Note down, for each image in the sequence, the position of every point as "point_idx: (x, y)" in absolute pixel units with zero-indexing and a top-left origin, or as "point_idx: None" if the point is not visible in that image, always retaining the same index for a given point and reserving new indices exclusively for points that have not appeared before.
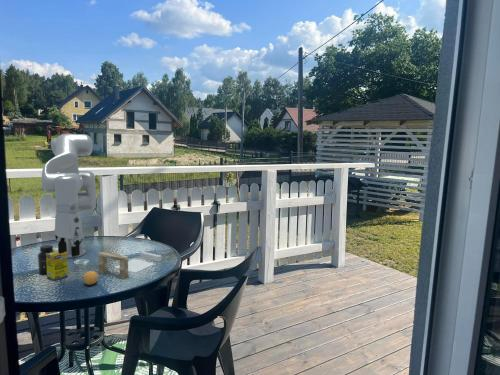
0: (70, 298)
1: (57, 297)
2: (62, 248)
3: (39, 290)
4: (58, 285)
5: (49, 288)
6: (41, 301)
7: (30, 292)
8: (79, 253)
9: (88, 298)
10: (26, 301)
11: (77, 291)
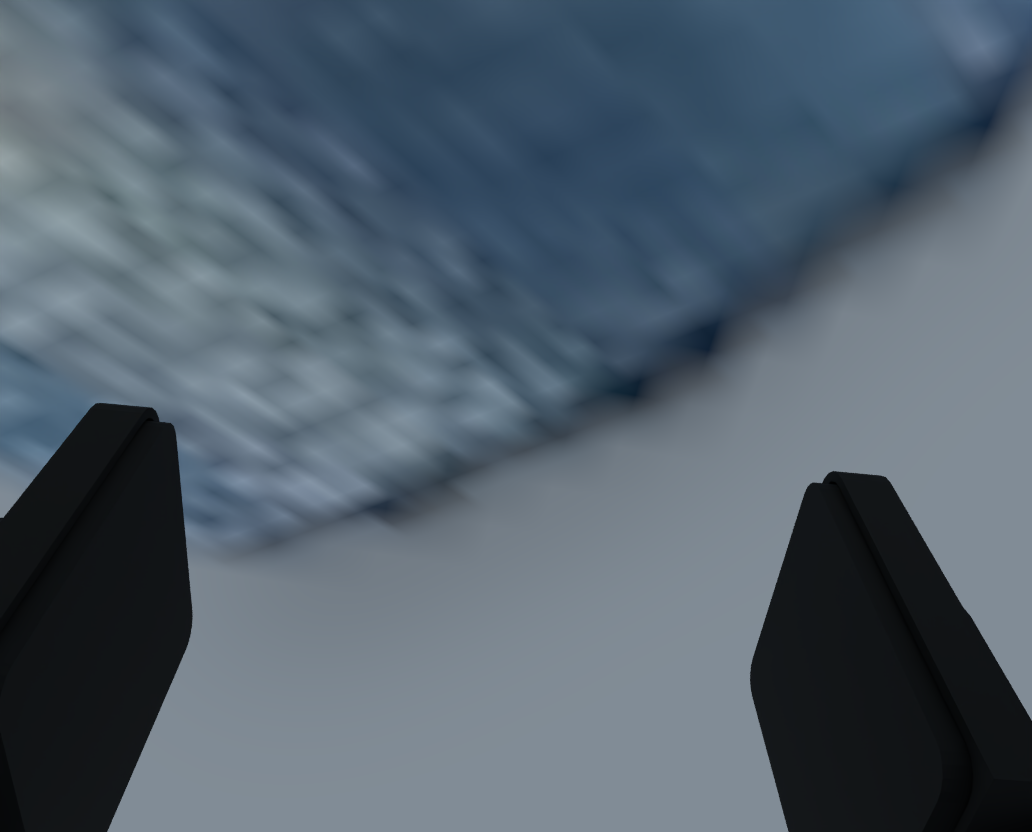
0: (648, 299)
1: (465, 342)
2: (135, 667)
3: (46, 282)
4: (90, 24)
5: (91, 174)
6: (388, 484)
7: (18, 370)
8: (893, 503)
9: (890, 203)
10: (240, 540)
11: (564, 79)
